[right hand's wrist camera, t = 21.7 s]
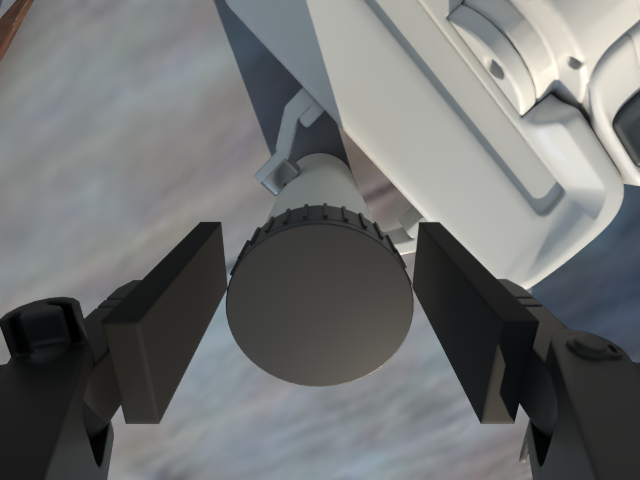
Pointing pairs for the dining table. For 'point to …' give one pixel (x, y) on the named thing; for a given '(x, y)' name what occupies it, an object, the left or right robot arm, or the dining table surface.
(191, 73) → the dining table surface
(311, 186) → the jar
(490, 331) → the right robot arm
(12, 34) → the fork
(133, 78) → the dining table surface
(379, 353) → the lid
